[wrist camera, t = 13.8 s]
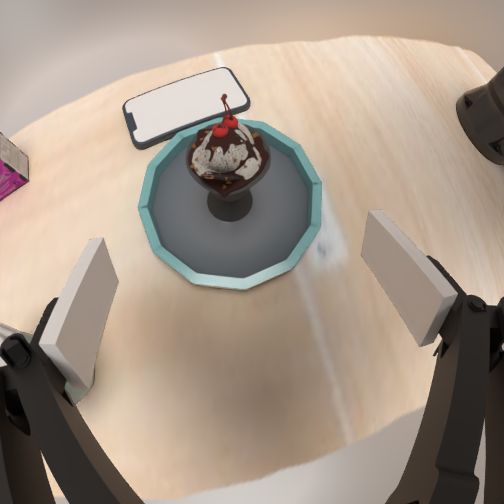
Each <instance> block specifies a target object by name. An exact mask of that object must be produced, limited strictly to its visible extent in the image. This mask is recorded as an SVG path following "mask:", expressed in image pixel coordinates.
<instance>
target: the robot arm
mask: <svg viewBox="0 0 504 504" xmlns="http://www.w3.org/2000/svg"><path fill="white" fill-rule="evenodd" d="M457 113H458V117H459V119H460V122H461V124H462V126H463V128H464V130H465V132H466V133H467V135H468V137H469V138H470V140H471V141H472V142H473V144H474V145H475V146H476V147H477V149H478V150H479V151H480V152H481V153H482V154H483V155H484V156H485V157H487V158H488V159H489V160H491V161H492V162H494V163H496V164H504V67H503V68H502V69H501V70H500V71H499V72H498V73H497V74H496V75H495V76H494V77H493V78H492V79H491V80H490V81H489V82H488V83H487V84H485V85H482V86H480V87H477V88H475V89H472V90H470V91H467V92H465V93H464V94H463V95H462V96H461V97H460V98H459V99H458V101H457ZM361 256H362V258H363V259H364V261H365V262H366V264H367V265H368V267H369V268H370V269H371V271H372V272H373V274H374V275H375V277H376V278H377V280H378V281H379V283H380V284H381V286H382V287H383V289H384V290H385V292H386V294H387V295H388V297H389V298H390V300H391V301H392V303H393V304H394V306H395V308H396V309H397V311H398V312H399V314H400V316H401V317H402V319H403V320H404V322H405V324H406V325H407V327H408V329H409V330H410V332H411V334H412V335H413V337H414V339H415V340H416V342H417V344H418V346H419V347H422V346H425V345H428V344H431V343H433V342H434V340H435V339H436V337H437V335H438V333H439V334H440V336H441V337H442V340H441V342H440V344H439V345H438V347H437V349H436V350H435V352H434V354H433V356H436V354H437V353H438V356H437V361H436V366H435V371H434V375H433V380H432V384H431V388H430V392H429V396H428V400H427V404H426V408H425V411H424V415H423V419H422V422H421V425H420V428H419V432H418V434H417V438H416V440H415V443H414V446H413V449H412V452H411V455H410V457H409V460H408V463H407V465H406V468H405V470H404V473H403V475H402V478H401V480H400V482H399V485H398V486H397V488H396V489H395V491H394V492H393V493H392V494H391V495H390V497H389V498H388V500H387V502H386V503H385V504H474V503H475V499H476V496H477V493H478V490H479V478H478V477H476V476H475V475H474V468H475V464H476V460H477V455H478V451H479V446H480V441H481V435H482V430H483V424H484V417H485V436H486V469H485V487H484V504H504V351H503V350H502V345H503V343H504V297H502V298H501V299H500V301H499V303H498V305H497V306H492V305H487V304H486V303H485V301H483V300H482V299H481V298H479V297H477V296H474V295H466V293H465V292H464V291H463V290H462V288H461V287H460V286H459V285H458V284H457V283H456V281H455V280H454V279H453V278H452V277H451V276H450V274H449V273H448V272H447V271H446V270H444V268H443V266H442V265H441V264H440V263H439V262H438V261H437V260H435V259H433V258H432V257H430V256H425V255H424V253H423V252H422V251H421V250H420V249H419V248H418V247H417V246H416V245H415V244H414V243H413V242H412V241H411V239H410V238H409V237H408V236H407V235H406V234H405V233H404V232H403V231H402V230H401V229H400V228H399V227H398V226H397V225H396V224H395V223H394V222H393V221H392V220H391V219H390V218H389V217H388V216H387V215H386V214H385V213H384V212H383V211H382V210H368V216H367V223H366V229H365V235H364V241H363V246H362V252H361ZM118 283H119V281H118V278H117V275H116V273H115V270H114V267H113V264H112V262H111V259H110V256H109V253H108V250H107V247H106V244H105V241H104V238H96V239H90V240H89V242H88V244H87V245H86V247H85V249H84V251H83V252H82V254H81V256H80V258H79V260H78V261H77V263H76V265H75V267H74V269H73V271H72V273H71V275H70V277H69V278H68V280H67V282H66V284H65V286H64V288H63V290H62V292H61V294H60V297H59V298H54V299H53V300H52V301H51V302H50V303H49V304H48V305H47V307H46V309H45V311H44V313H43V317H41V320H40V322H39V323H40V324H38V326H37V328H36V331H35V333H34V335H33V337H32V340H31V342H30V344H29V343H28V341H27V340H26V339H25V337H24V336H23V334H20V333H14V334H12V335H10V336H8V337H7V338H6V339H5V340H4V341H3V342H2V344H1V346H0V357H1V358H2V359H3V360H4V362H5V363H6V364H7V365H5V366H1V367H0V504H56V503H55V500H54V497H53V494H52V491H51V488H50V484H49V481H48V478H47V474H46V470H45V467H44V463H43V459H42V455H41V452H42V454H43V456H44V458H45V460H46V463H47V465H48V466H49V468H50V470H51V472H52V474H53V476H54V478H55V480H56V482H57V483H58V485H59V487H60V489H61V490H62V492H63V494H64V495H65V497H66V499H67V500H68V502H69V504H145V503H144V502H143V501H142V500H141V499H140V498H139V496H138V495H137V494H136V493H135V492H134V490H133V489H132V488H131V487H130V486H129V484H128V483H127V482H126V481H125V479H124V478H123V477H122V475H121V474H120V473H119V471H118V470H117V469H116V467H115V466H114V465H113V463H112V462H111V461H110V459H109V458H108V456H107V455H106V454H105V452H104V451H103V449H102V448H101V446H100V445H99V443H98V442H97V440H96V439H95V437H94V436H93V434H92V432H91V431H90V429H89V428H88V426H87V424H86V423H85V421H84V419H83V418H82V416H81V414H80V412H79V411H78V409H77V407H76V405H75V404H74V402H73V400H72V398H71V396H70V394H69V392H68V391H67V390H66V389H65V385H66V381H68V382H69V384H70V385H71V386H72V387H73V388H76V389H89V388H90V384H91V379H92V375H93V371H94V366H95V362H96V358H97V354H98V350H99V346H100V343H101V339H102V335H103V332H104V328H105V325H106V321H107V318H108V314H109V311H110V308H111V305H112V301H113V298H114V295H115V292H116V289H117V286H118Z"/></svg>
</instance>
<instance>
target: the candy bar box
mask: <svg viewBox="0 0 504 504" xmlns="http://www.w3.org/2000/svg"><path fill="white" fill-rule="evenodd" d="M28 181H29V173H28V157H27V156H26V155H25V154H24V153H23V152H22V151H21V150H19V149H18V148H17V147H16V146H15V145H14V144H13V143H12V142H10V141H9V140H8V139H7V138H6V137H5V136H4V135H3V134H2V133H1V132H0V200H2V199H3V198H4V197H6V196H7V195H9V194H10V193H12V192H13V191H15V190H16V189H18V188H19V187H21V186H22V185H24V184H25V183H27V182H28Z"/></svg>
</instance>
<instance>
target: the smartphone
mask: <svg viewBox="0 0 504 504" xmlns="http://www.w3.org/2000/svg"><path fill="white" fill-rule="evenodd" d="M223 94H227V98H226V103H227V104H228V106H229V108H230V110H231V113H232V115H235V114H238V113H241V112H244V111H246V110H248V109H249V107H250V98H249V97H248V95H247V94H246V92H245V91H244V89H243V87H242V86H241V84H240V83H239V81H238V80H237V78H236V77H235V75H234V74H233V72H232V71H231V70H230V69H229V68H226V67H221V68H217V69H213V70H210V71H206V72H203V73H200V74H197V75H193V76H190V77H187V78H184V79H181V80H178V81H175V82H173V83H170V84H167V85H164V86H162V87H159V88H156V89H154V90H151V91H149V92H146V93H144V94H141V95H139V96H136V97H134V98H132V99H129V100H127V101H126V102H125V103H124V105H123V107H122V109H123V113H124V116H125V120H126V123H127V126H128V129H129V133H130V136H131V139H132V142H133V144H134V146H135V147H136V148H137V149H146V148H149V147H151V146H153V145H156V144H158V143H160V142H163V141H165V140H168V139H170V138H173V137H174V136H175V135H176V134H177V133H178V132H181V131H183V130H186V129H188V128H191V127H194V126H196V125H199V124H202V123H205V122H208V121H210V120H213V119H216V118H224V114H225V107H224V104H223V102H222V100H221V97H222V95H223ZM225 105H226V104H225ZM226 110H227V113H226V116H228V115H230V114H229V111H228V108H227V106H226Z"/></svg>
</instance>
